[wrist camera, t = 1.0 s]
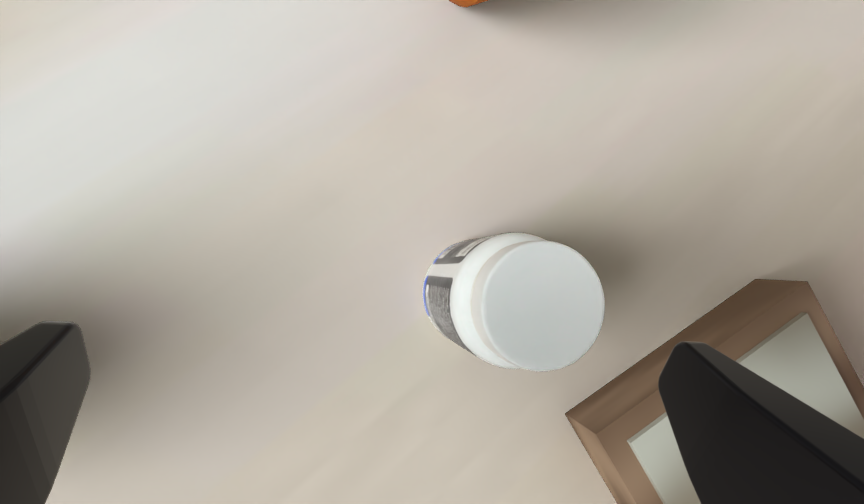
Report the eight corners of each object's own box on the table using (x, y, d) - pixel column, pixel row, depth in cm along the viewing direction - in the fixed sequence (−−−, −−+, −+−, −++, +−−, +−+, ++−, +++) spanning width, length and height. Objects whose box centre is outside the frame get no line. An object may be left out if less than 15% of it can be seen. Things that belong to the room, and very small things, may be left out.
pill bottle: (499, 358, 25) (585, 409, 16) (405, 321, 24) (444, 353, 15) (537, 262, 25) (639, 263, 17) (445, 222, 24) (504, 203, 16)
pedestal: (860, 475, 28) (930, 503, 25) (685, 619, 26) (736, 670, 23) (755, 279, 27) (813, 281, 24) (564, 413, 25) (600, 436, 22)
